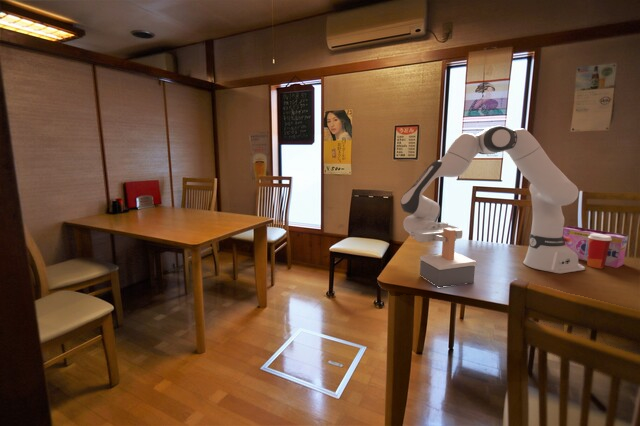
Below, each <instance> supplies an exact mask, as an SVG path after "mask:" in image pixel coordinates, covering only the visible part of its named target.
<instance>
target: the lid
mask: <svg viewBox="0 0 640 426" xmlns="http://www.w3.org/2000/svg"><path fill="white" fill-rule="evenodd" d="M455 233H456V230H454V229H451V228H443V237H447V238H448V239H447V240H448V241H447V242H442V246H441V253H432V254H425V255H424V254H423V255H420V257H419V258H420V261H421V260H422V261H424V262H426V263H428V264H430V265H431V266H433V267H435V268H437V269H439V270H444V269H451V268H458V267H465V266H473V265H474V266H476V265H477V261H476V260H474V259H471V258H470V257H468V256H465V255H463V254H461V253H458V252H456V251H455V249H456V247H455V246H456V241H455Z"/></svg>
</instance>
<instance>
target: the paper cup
mask: <svg viewBox="0 0 640 426" xmlns="http://www.w3.org/2000/svg"><path fill="white" fill-rule="evenodd" d="M588 237H589V244H588V258H587V261H586V265H587V266H588V267H590V268H592V269H593V268H594V269H604V268H605V266H606V265H605V262H606V258H607V254H608V250H609V245H610V241H611V240H612V239H611V236H608V235H605V234H596V233H592V234H590V235H589V236H588Z"/></svg>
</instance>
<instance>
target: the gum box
mask: <svg viewBox="0 0 640 426" xmlns="http://www.w3.org/2000/svg"><path fill="white" fill-rule="evenodd" d="M564 226H565V225H564ZM592 233H596V234H605V235H608V236H611V239H612V240H611V241H610V245H609V250H608V254H607V258H606V262H605V265H604V266H608V267H610V268H611V267H612V268H619V267H621V266H623V265H624V263H625V255H626V249H627V245H628V239H629V237H630V236H629V235H628V234H622V233H618V232H612V231H606V230H605V231H604V230H599V229H593V228H592V229H591V228H586V227H579V226H572V225H566V226H565V227H564V228H563V235H562V236H563V237H568V238H571V241H570V242H566V241H565V245H566V246H567V247H569V248H570V249H571V250H572V251H574V252H575V253H576V254H577V255H578V260H582V261H586V262H587V258H588V244H589V237H588V236H589V235H590V234H592Z"/></svg>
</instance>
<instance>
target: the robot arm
mask: <svg viewBox="0 0 640 426" xmlns="http://www.w3.org/2000/svg"><path fill="white" fill-rule="evenodd" d="M502 152H506V153H507V154H508V155H509V157H510V158H511V160H512V161H513V163H514V164H515V166H516V167H517V169H518V170H519V171H520V173H521V174H522V176H523V177H524V178H525V179H526V180H528V182H529V183H530V184H529V187H528V188H529V193H530V196H531V206H532V207H531V208H532V224H531V231H530V233H529V239H528V243H529V245H528V249H527V251H526V255H525V258H524V260H523V264H524V265H525V266H527V267H529V268H532V269H535V270H540V271H543V272H544V271H545V272H550V273H555V274H565V273H566V274H567V273H571V272H573V273H574V272H579V271H585V269H586V268H585V266H583V265H582V264H580V263H579V259H578V255H577V254H576V253H575V252H574V251H572V250H571V249H570V248H569V247H567V246H566V245H565V241H566V242H570V241H571V238H568V237H563V236H562V235H563V228H565V227H564V226H565V216H564V213H563V210H562V207H563V206H568V205H571V204H573V203H574V202H575V201H576V200H577V199H578V197H579V193H580V192H579V188H578V187H577V185H576V184H575V183H574V182H572V180H570V179H569V178H568V177H567V176H566V175H565V174H564V173H563V172H562V171H561V169H559V167H557V165H556V164H554V162H553V161H552V160H551V159H550V157H549V156H548V154H547V153H546V151H545V150H544V149H543V148H542V145H541V144H540V143H539V141H538V140H537V139H536V138H535V137H534V136H533V134H532V133H530V132H529V131H528V130H527V129H526V128H523V127H521V128H514V129H510V128H509V127H507V126H504V125H495V126H491V127H487V128H485V129H484V130H482V131H479V132H478V133H477V134H473V133H470V132H468V133H467V132H463V133H461V134H459V136H457V138H455V140H454V141H453V142H452V143H451V145H450V147H449V148H448V149H447V151H446V153H445V154H444V156H442V157H441V158H440V159H439V160H434V161H432V163H430V164H429V166H428V167H427V168H426V169H425V170H424V171H423V173H422V174H421V175H420V176H419V178H418V179H417V180H416V181H415V183H414V184H413V185H412V186H411V187H410V188H409V189H408V190H407V191H406V192H405V193H404V194H403V195H402V197H401V199H400V206H401V209H402V211H403V212H404V213H407V214H410V215H408V216H406V217H405V218H404V219H403V221H402V223H403V229H404V230H405V231H406V232H407V233H409V235H410V236H411V237H413V240H415V241H417V242H418V243H423V244H424V243H432V242H442V243H443V242H447V241H448V240H447V239H448V238H447V237H443V228H451V229H454V230H456V233H455V242H456V241H457V240H458V239H459V240H460V239H463V229H461V228H460V227H458V226H454V225H451V224H449V223H448V222H443V221H442V222H439V221H438V220H439V217H440V214H441V207H440V204H439V203H438V202H436V201H434V200H433V199H431V198H429V197H426V196H425V195H423V193H425V190H427V188H428V187H429V186H430V185H431V183H432V182H433V181H435V179H437V178H440V177H445V178H456V177H460V176H462V175H463V174H464V173H465V172H466V171H468V168H470V165H471V163H472V162H473V160H474V158H475V157H476V156H477V155H478V154H480V155H494V154H497V153H502Z"/></svg>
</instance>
